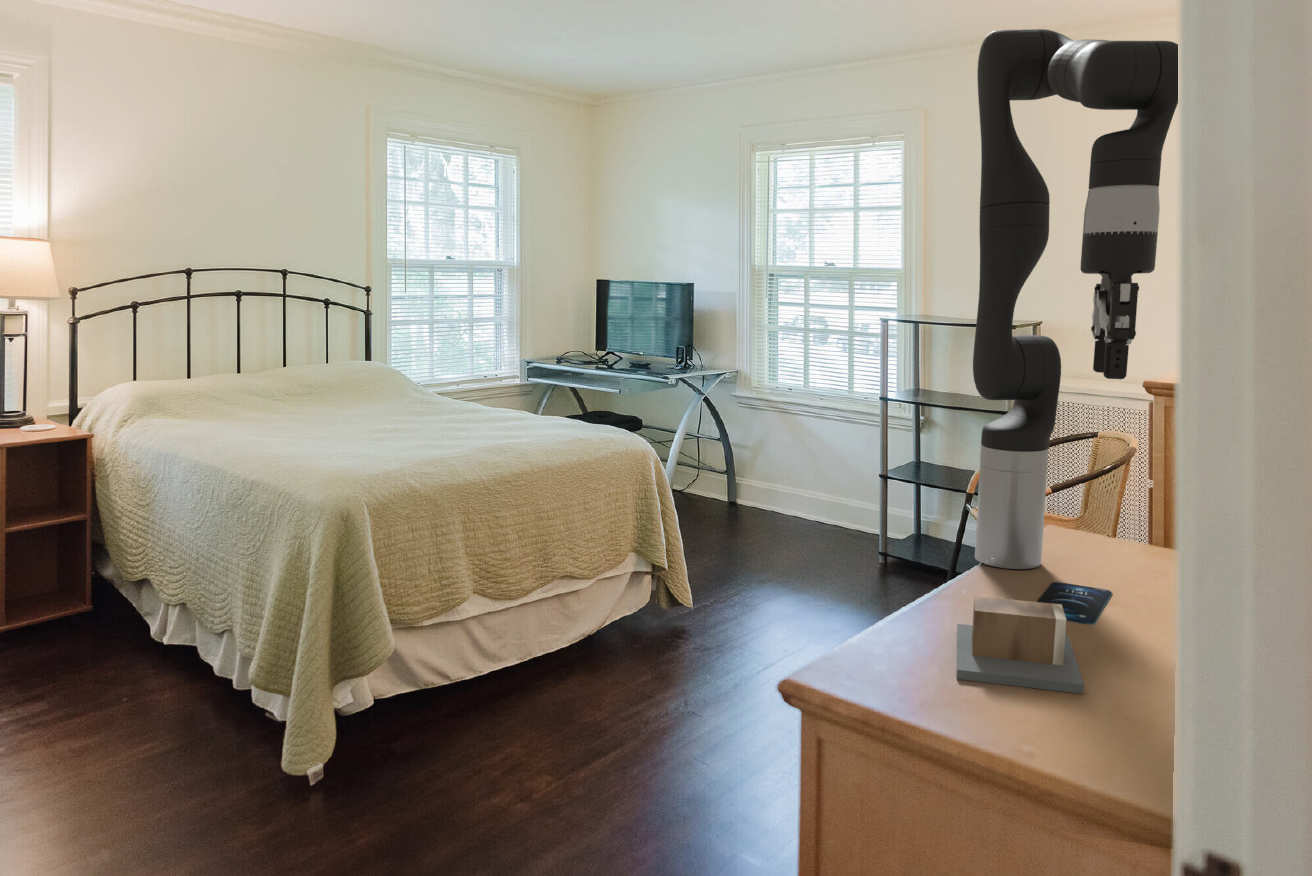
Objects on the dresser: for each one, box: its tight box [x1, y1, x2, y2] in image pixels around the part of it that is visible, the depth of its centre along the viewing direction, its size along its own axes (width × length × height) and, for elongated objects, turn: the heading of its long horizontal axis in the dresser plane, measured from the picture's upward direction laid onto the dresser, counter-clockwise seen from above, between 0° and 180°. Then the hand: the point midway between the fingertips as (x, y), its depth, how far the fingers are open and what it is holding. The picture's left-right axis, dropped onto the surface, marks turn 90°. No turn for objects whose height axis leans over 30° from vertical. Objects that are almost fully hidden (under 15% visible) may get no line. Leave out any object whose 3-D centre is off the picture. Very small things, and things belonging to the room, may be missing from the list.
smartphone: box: [1036, 581, 1113, 626], centre depth 120 cm, size 8×1×15 cm
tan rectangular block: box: [972, 595, 1067, 666], centre depth 101 cm, size 5×5×9 cm
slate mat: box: [956, 623, 1084, 695], centre depth 101 cm, size 14×12×1 cm
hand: (1108, 375), depth 107 cm, fingers open, 8 cm apart
